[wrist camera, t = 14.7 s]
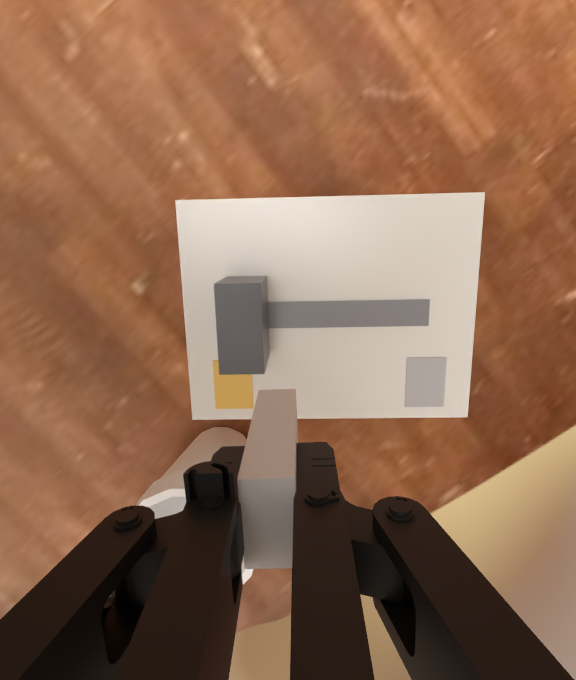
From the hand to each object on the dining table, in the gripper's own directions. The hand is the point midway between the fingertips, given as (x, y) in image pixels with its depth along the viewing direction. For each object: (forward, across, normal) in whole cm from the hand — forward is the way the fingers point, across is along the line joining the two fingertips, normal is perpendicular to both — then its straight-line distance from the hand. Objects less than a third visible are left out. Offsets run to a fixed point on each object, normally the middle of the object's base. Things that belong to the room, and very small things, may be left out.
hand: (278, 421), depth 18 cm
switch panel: (+23, +3, +1) cm, 23 cm away
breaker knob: (+16, -3, +1) cm, 17 cm away
